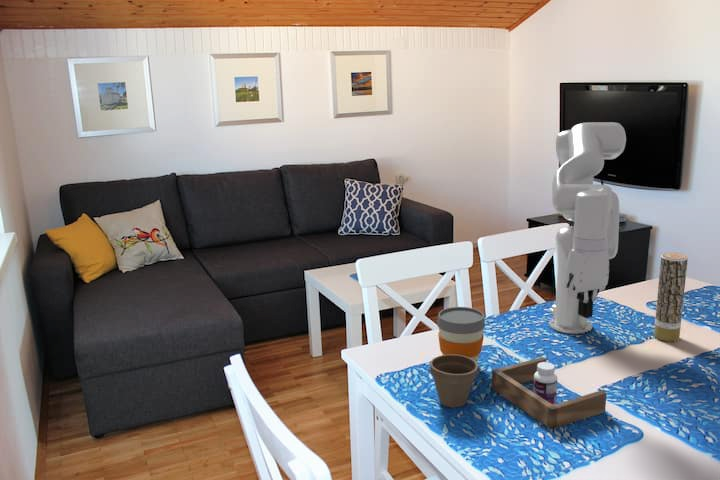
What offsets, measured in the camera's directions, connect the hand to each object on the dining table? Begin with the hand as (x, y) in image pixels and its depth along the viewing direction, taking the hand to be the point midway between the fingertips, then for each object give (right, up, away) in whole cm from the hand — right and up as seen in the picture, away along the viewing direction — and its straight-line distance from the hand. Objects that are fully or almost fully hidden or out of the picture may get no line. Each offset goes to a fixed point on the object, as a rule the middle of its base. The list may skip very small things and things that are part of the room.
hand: (585, 315), depth 160 cm
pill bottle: (-10, -21, -1) cm, 23 cm away
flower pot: (-32, -21, +1) cm, 38 cm away
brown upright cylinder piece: (+35, -10, +33) cm, 49 cm away
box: (-9, -20, 0) cm, 22 cm away
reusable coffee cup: (-27, -16, +19) cm, 37 cm away
